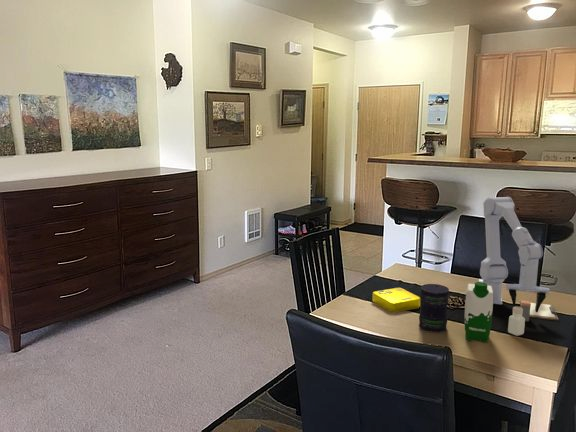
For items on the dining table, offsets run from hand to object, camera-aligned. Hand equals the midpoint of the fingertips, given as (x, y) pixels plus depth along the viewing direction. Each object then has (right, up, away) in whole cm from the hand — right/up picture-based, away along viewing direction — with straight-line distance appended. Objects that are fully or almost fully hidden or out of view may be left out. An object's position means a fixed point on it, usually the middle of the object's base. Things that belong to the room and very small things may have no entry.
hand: (525, 309), depth 180 cm
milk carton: (-24, -7, -14) cm, 29 cm away
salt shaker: (-9, -6, -11) cm, 16 cm away
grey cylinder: (0, -4, +1) cm, 4 cm away
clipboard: (+10, -2, +9) cm, 13 cm away
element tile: (-45, -1, +17) cm, 48 cm away
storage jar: (-37, -5, -6) cm, 38 cm away
